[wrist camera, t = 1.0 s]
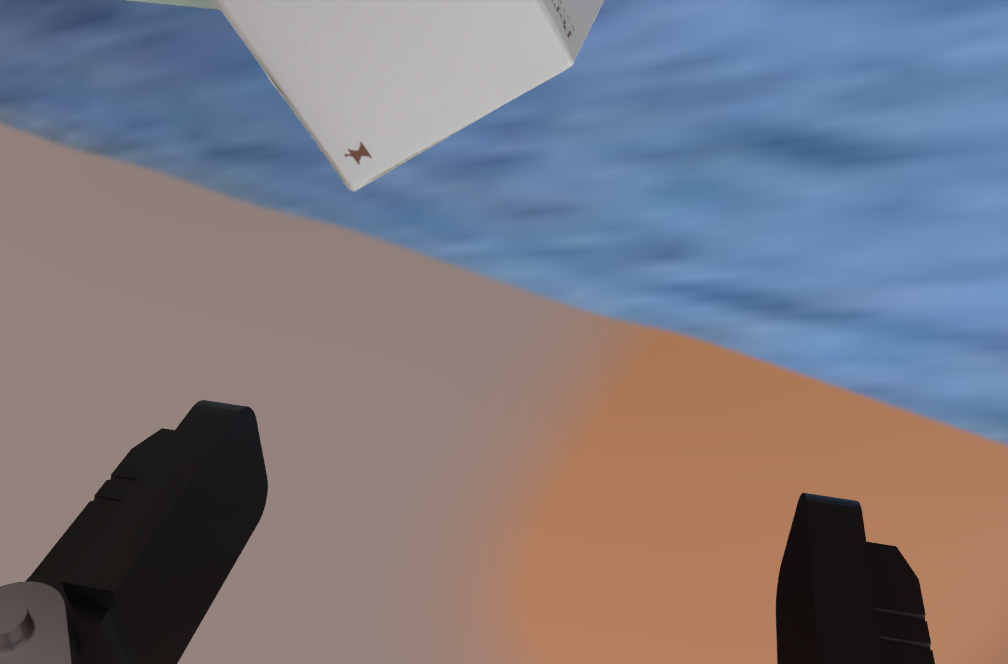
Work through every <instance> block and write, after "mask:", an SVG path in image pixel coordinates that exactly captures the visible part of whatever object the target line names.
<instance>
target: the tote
mask: <svg viewBox="0 0 1008 664" xmlns="http://www.w3.org/2000/svg"><path fill="white" fill-rule="evenodd" d="M128 1H138V2H148V3H158V4H168V5H178V6H188V7H198V8H208V9H217V10H220V8H219V7H218V5H217V4H216V2H215V1H214V0H128Z"/></svg>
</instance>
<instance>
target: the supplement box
mask: <svg viewBox="0 0 1008 664" xmlns="http://www.w3.org/2000/svg"><path fill="white" fill-rule="evenodd" d="M214 1H215V2H216V4H217V5H218V7H219V8H220V10H221V11H222V12H223V14H224V15H225V17H226V18H227V19H228V21H229V22H230V24H231V25H232V27H233V28H234V29H235V31H236V32H237V34H238V35H239V36H240V38H241V39H242V40H243V42H244V43H245V45H246V46H247V47H248V49H249V50H250V51H251V53H252V54H253V56H254V57H255V58H256V60H257V61H258V63H259V64H260V66H261V67H262V69H263V70H264V71H265V73H266V74H267V76H268V78H269V79H270V81H271V82H272V84H273V85H274V86H275V88H276V89H277V91H278V92H279V93H280V94H281V95H282V97H283V98H284V99H285V100H286V102H287V103H288V105H289V106H290V107H291V109H292V110H293V112H294V113H295V114H296V116H297V117H298V119H299V120H300V121H301V123H302V124H303V125H304V127H305V128H306V130H307V131H308V132H309V134H310V135H311V137H312V138H313V139H314V141H315V142H316V144H317V145H318V146H319V148H320V149H321V151H322V152H323V153H324V155H325V156H326V158H327V159H328V160H329V162H330V163H331V165H332V166H333V167H334V169H335V170H336V172H337V173H338V175H339V176H340V178H341V179H342V181H343V182H344V184H345V185H346V187H347V188H348V189H349V190H351V191H354V192H355V191H356V190H358V189H360V188H362V187H363V186H365V185H367V184H368V183H370V182H372V181H374V180H375V179H377V178H379V177H380V176H382V175H384V174H386V173H387V172H389V171H391V170H392V169H394V168H396V167H398V166H399V165H401V164H403V163H404V162H406V161H408V160H410V159H411V158H413V157H415V156H416V155H418V154H420V153H422V152H423V151H425V150H427V149H428V148H430V147H432V146H434V145H435V144H437V143H439V142H440V141H442V140H444V139H446V138H447V137H449V136H451V135H452V134H454V133H456V132H458V131H459V130H461V129H463V128H464V127H466V126H468V125H470V124H471V123H473V122H475V121H476V120H478V119H480V118H482V117H483V116H485V115H487V114H488V113H490V112H492V111H494V110H495V109H497V108H499V107H500V106H502V105H504V104H506V103H507V102H509V101H511V100H513V99H515V98H517V97H518V96H520V95H522V94H524V93H525V92H527V91H529V90H531V89H533V88H535V87H536V86H538V85H540V84H541V83H543V82H545V81H547V80H549V79H551V78H552V77H554V76H556V75H558V74H559V73H561V72H563V71H565V70H566V69H568V68H569V67H571V66H572V65H573V63H574V61H575V59H576V57H577V55H578V53H579V51H580V49H581V47H582V45H583V43H584V41H585V39H586V37H587V34H588V33H589V31H590V29H591V27H592V25H593V23H594V21H595V19H596V17H597V15H598V13H599V10H600V8H601V6H602V4H603V2H604V0H214Z"/></svg>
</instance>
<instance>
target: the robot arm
mask: <svg viewBox="0 0 1008 664" xmlns="http://www.w3.org/2000/svg"><path fill="white" fill-rule="evenodd" d="M267 491H268V481H267V475H266V469H265V464H264V458H263V453H262V448H261V443H260V437H259V432H258V426H257V421H256V416H255V414H254V411H253V410H252V409H251V408H250V407H246V406H239V405H232V404H226V403H219V402H213V401H206V400H202V401H199V402H197V403H196V404H195V405H194V406H193V407H192V409H191V410H190V411H189V413H188V414H187V415H186V417H185V418H184V419H183V420H182V422H181V423H180V425H179V426H178V427H177V428H176V430H169V429H161V430H159V431H158V432H156V433H155V434H153V435H152V436H150V437H149V438H147V439H146V440H144V441H143V442H141V443H140V444H138V445H137V446H135V447H134V448H132V449H131V450H130V452H129V453H128V454H127V455H126V457H125V458H124V459H123V460H122V462H121V463H120V464H119V465H118V467H117V468H116V469H115V471H114V472H113V473H112V474H111V479H110V480H107V481H106V482H105V483H104V484H103V486H102V487H101V488H100V489H99V491H98V492H97V493H96V494H95V498H94V501H90V502H89V503H88V504H87V506H86V507H85V508H84V509H83V511H82V512H81V513H80V515H79V516H78V517H77V518H76V520H75V521H74V522H73V523H72V524H71V526H70V527H69V529H68V530H67V531H66V532H65V533H64V535H63V536H62V537H61V538H60V540H59V541H58V542H57V543H56V545H55V546H54V547H53V549H52V550H51V551H50V552H49V554H48V555H47V556H46V557H45V558H44V560H43V561H42V562H41V563H40V565H39V566H38V567H37V569H36V570H35V571H34V572H33V574H32V575H31V576H30V577H29V578H28V579H27V580H26V581H25V582H18V583H12V584H9V585H4V586H1V587H0V664H177V663H178V661H179V659H180V658H181V656H182V654H183V653H184V651H185V649H186V647H187V646H188V644H189V642H190V640H191V639H192V637H193V635H194V633H195V632H196V630H197V628H198V627H199V625H200V623H201V621H202V620H203V618H204V616H205V614H206V613H207V611H208V609H209V607H210V605H211V604H212V602H213V600H214V599H215V597H216V595H217V594H218V592H219V590H220V588H221V587H222V585H223V583H224V581H225V580H226V578H227V576H228V574H229V573H230V571H231V569H232V567H233V566H234V564H235V562H236V560H237V558H238V557H239V555H240V554H241V552H242V550H243V548H244V547H245V545H246V543H247V541H248V540H249V538H250V536H251V535H252V533H253V531H254V529H255V527H256V526H257V524H258V522H259V520H260V518H261V516H262V514H263V511H264V507H265V503H266V499H267ZM776 596H777V597H776V631H777V663H778V664H935V662H934V657H933V652H932V650H930V644H931V641H930V637H929V631H928V626H927V622H926V621H925V610H924V605H923V599H922V594H921V589H920V584H919V580H918V578H917V576H916V575H915V573H914V572H913V570H912V569H911V568H910V566H909V564H908V563H907V561H906V560H905V559H904V557H903V556H902V554H901V553H900V551H899V550H898V548H897V547H896V546H889V545H884V544H877V543H871V542H866V537H865V530H864V523H863V516H862V510H861V506H860V503H859V502H858V501H853V500H847V499H840V498H834V497H827V496H820V495H814V494H807V493H802V494H801V496H800V498H799V501H798V504H797V508H796V512H795V515H794V519H793V523H792V526H791V530H790V533H789V537H788V541H787V545H786V548H785V552H784V556H783V559H782V563H781V567H780V572H779V578H778V585H777V595H776Z"/></svg>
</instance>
